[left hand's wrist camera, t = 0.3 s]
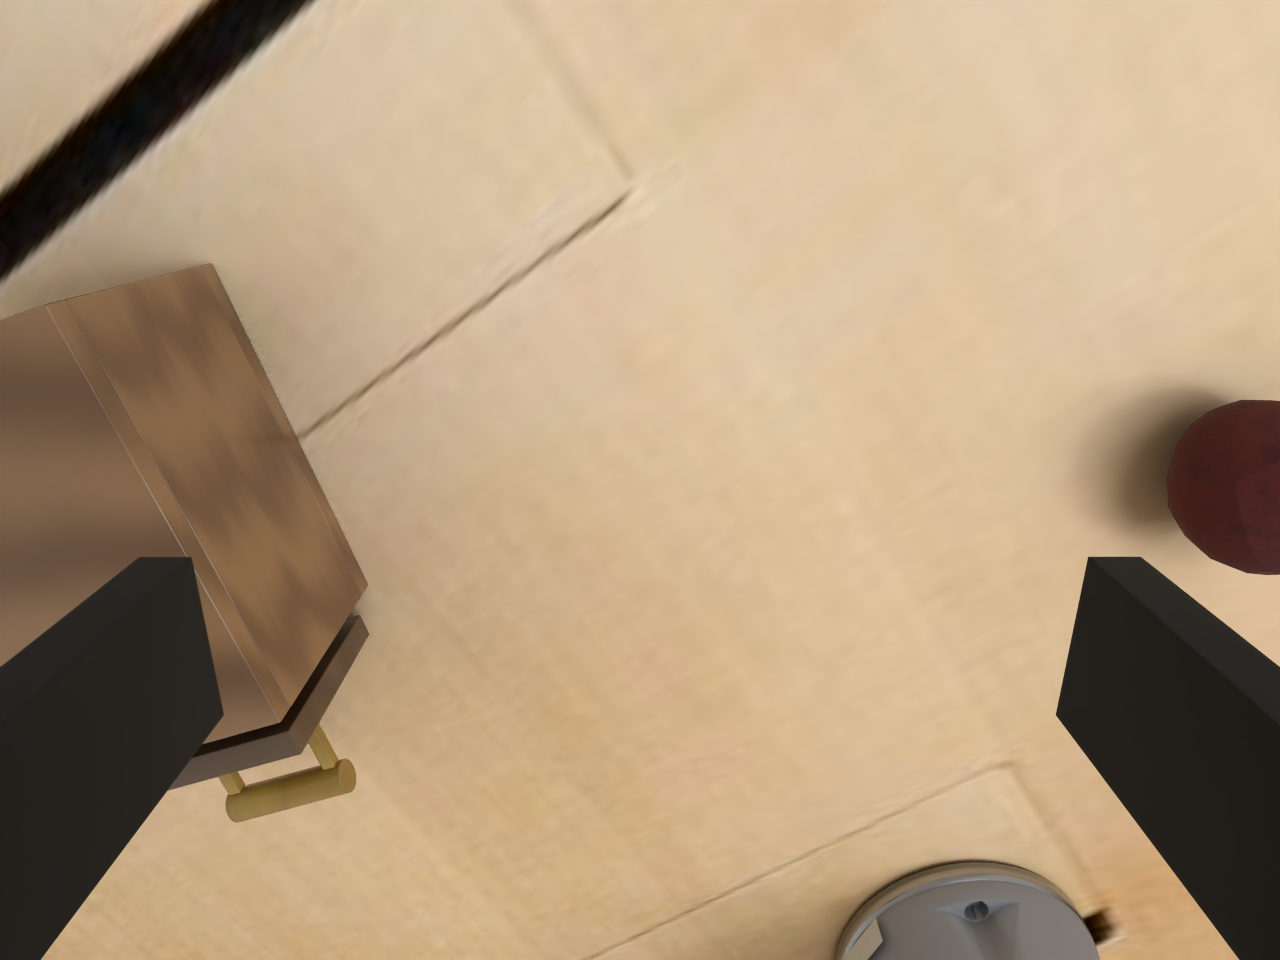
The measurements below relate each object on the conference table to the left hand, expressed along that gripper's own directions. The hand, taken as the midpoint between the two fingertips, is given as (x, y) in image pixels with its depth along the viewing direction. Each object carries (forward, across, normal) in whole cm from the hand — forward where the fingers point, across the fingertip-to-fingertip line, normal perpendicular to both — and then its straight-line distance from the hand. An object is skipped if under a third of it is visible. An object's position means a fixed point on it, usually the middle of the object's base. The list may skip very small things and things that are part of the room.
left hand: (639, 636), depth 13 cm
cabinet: (+28, -21, -7) cm, 36 cm away
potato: (+28, +28, -7) cm, 40 cm away
